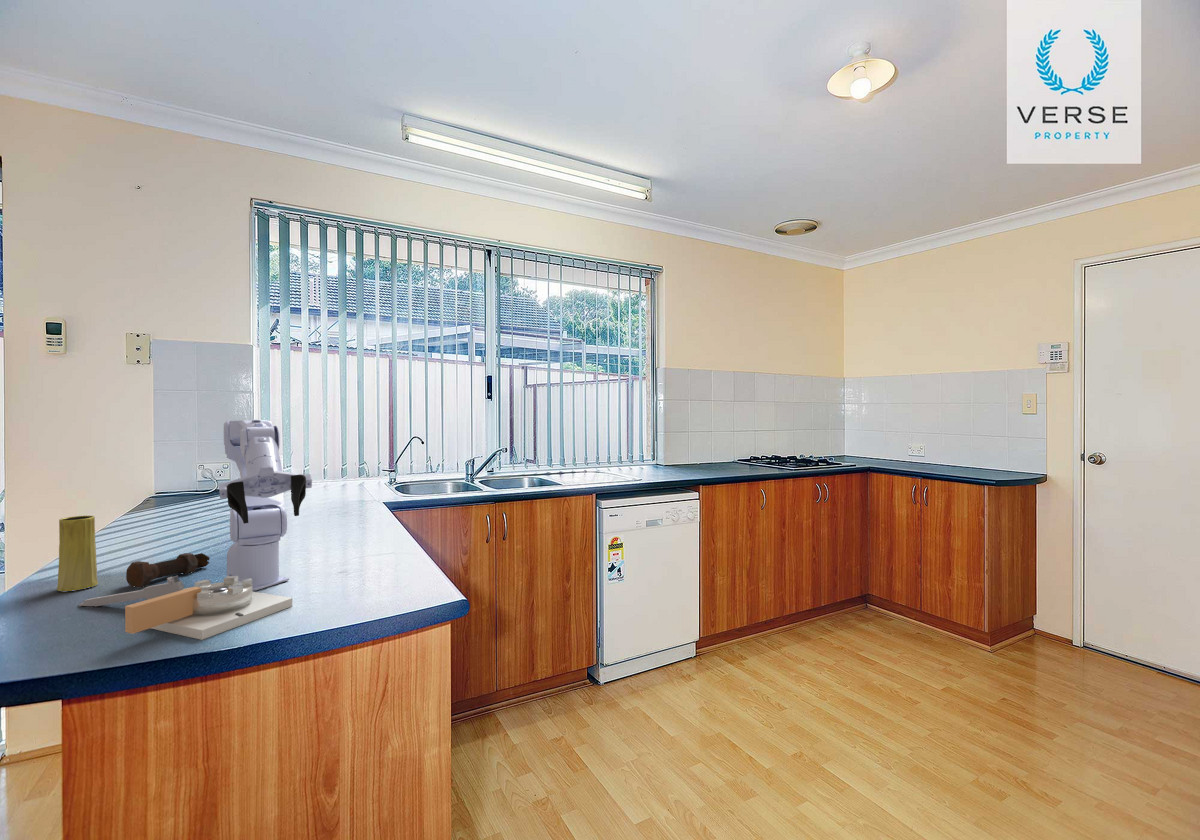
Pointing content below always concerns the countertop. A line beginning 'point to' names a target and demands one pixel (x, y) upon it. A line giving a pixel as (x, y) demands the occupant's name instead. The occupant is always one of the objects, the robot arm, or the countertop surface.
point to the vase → (77, 553)
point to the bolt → (164, 568)
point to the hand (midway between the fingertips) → (271, 515)
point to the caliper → (138, 593)
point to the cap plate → (226, 617)
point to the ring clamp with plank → (189, 603)
